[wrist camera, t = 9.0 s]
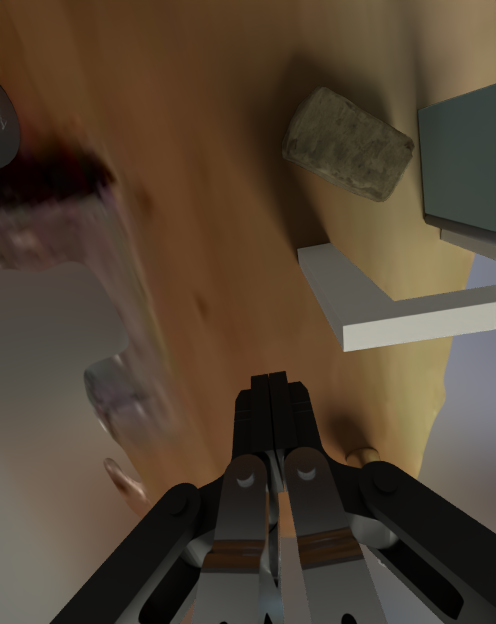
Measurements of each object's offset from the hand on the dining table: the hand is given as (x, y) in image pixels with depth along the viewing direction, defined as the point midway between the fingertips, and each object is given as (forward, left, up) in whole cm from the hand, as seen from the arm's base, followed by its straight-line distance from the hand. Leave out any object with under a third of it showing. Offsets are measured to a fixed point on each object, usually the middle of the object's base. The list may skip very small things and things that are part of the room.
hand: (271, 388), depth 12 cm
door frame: (+15, -2, -24) cm, 28 cm away
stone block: (+10, +8, -24) cm, 27 cm away
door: (+19, +5, -23) cm, 31 cm away
